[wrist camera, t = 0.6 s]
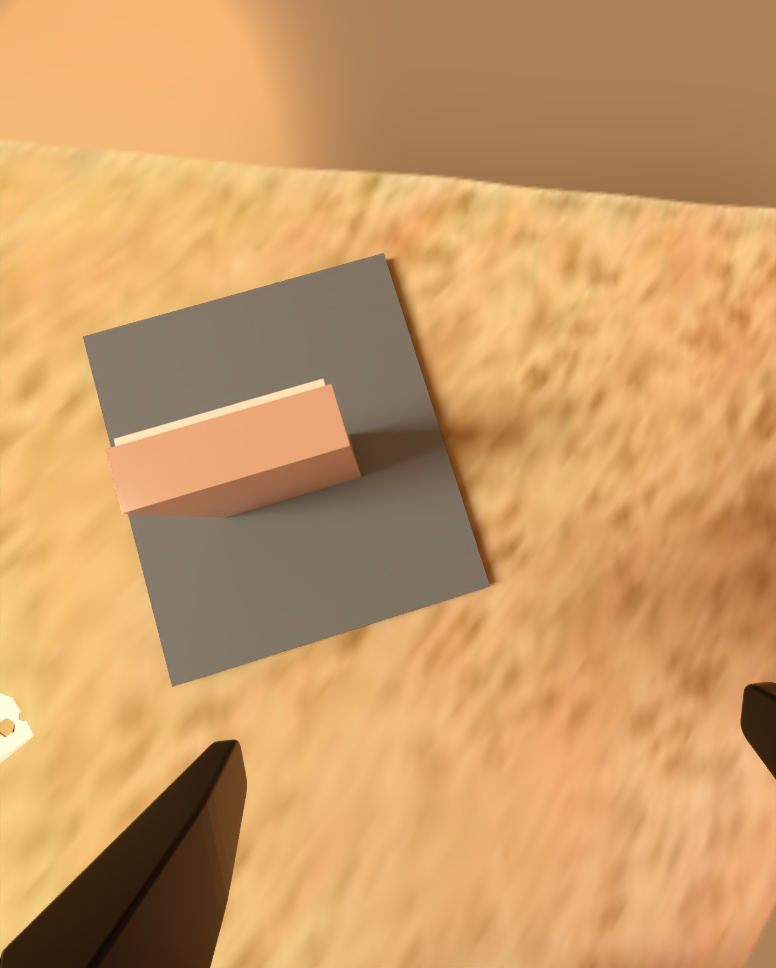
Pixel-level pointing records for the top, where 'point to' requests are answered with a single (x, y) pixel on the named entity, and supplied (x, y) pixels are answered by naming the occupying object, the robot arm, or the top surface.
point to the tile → (236, 456)
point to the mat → (310, 517)
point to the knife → (5, 746)
